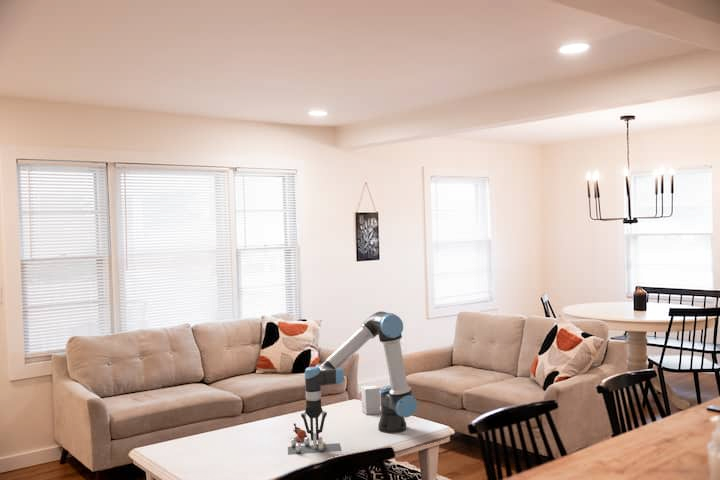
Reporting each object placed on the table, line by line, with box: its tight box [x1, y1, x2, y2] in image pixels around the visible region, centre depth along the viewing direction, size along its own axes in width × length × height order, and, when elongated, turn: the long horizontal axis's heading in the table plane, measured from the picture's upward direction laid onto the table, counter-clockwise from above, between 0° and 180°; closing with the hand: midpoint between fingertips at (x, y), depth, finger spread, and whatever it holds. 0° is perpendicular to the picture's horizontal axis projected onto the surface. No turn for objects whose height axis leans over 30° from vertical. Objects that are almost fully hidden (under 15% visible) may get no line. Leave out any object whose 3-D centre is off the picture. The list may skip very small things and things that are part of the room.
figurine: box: [293, 422, 308, 442], centre depth 343 cm, size 10×8×15 cm
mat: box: [287, 443, 343, 456], centre depth 325 cm, size 26×12×1 cm, turn 96°
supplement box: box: [360, 384, 381, 416], centre depth 390 cm, size 9×9×15 cm
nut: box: [317, 441, 327, 450], centre depth 326 cm, size 5×4×2 cm
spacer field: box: [290, 436, 324, 455], centre depth 325 cm, size 15×11×4 cm
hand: (315, 446), depth 326 cm, fingers closed
